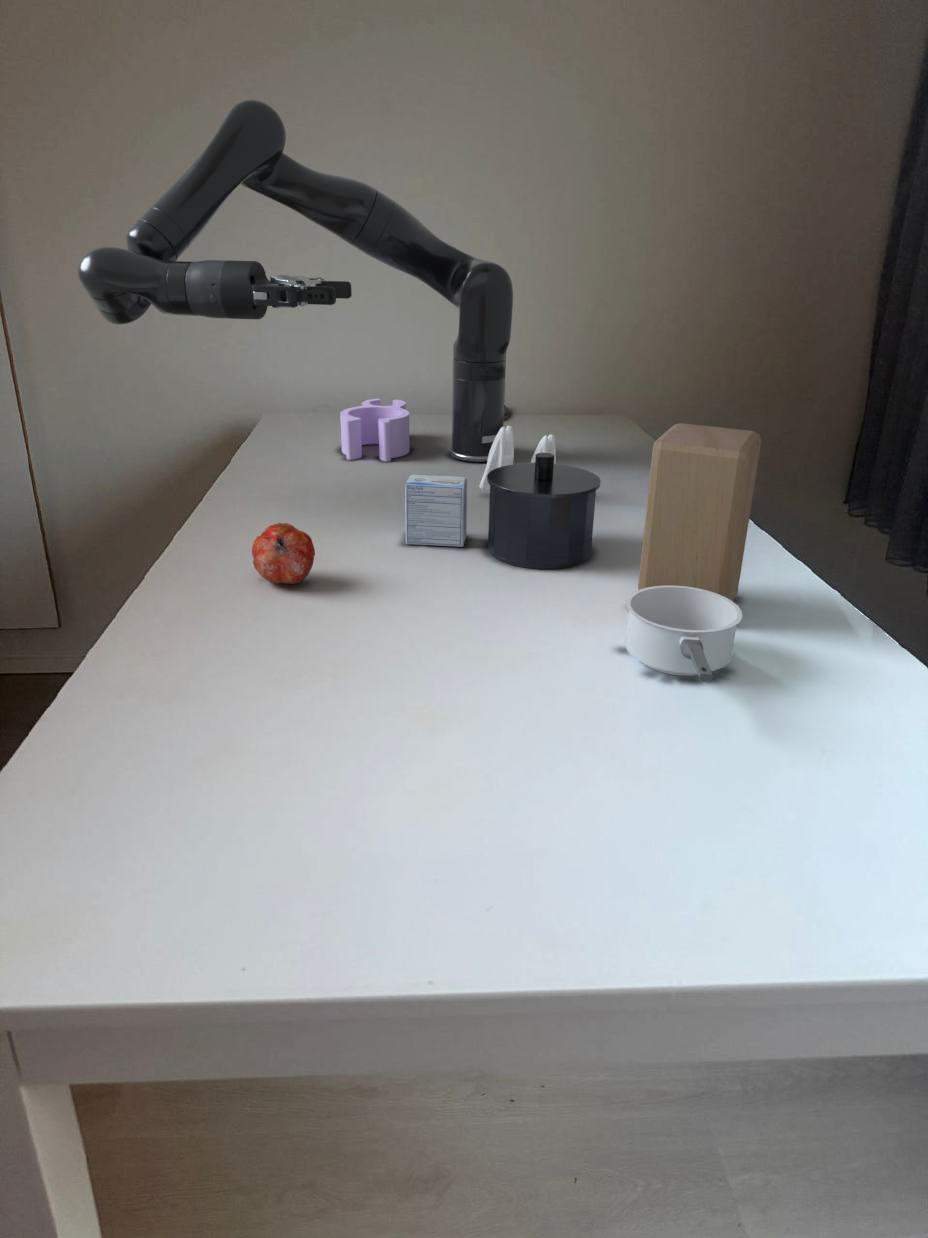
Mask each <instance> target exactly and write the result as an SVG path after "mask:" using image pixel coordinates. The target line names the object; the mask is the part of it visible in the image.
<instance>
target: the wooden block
mask: <svg viewBox="0 0 928 1238" xmlns="http://www.w3.org/2000/svg"><path fill="white" fill-rule="evenodd" d="M761 438H762V437H761V435H760V434H759V433H758V432H756V431H755V430H748V429H747V430H745V429H737V428H727V427H720V426H710V425H701V424H692V423H685V422H684V423H683V422H680V423H676V424H673V425H672V426H671V427H670V428H668V430H666V431H665V432H664V433H663V434H661V435H660V436H659V437H658V438H657V439H656V440H655V442H654V444H653V445H652V451H651V452H652V453H651V454H652V455H651V462H650V473H649V481H648V492H647V500H646V510H645V520H644V528H643V539H642V545H641V555H640V556H641V557H640V565H639V575H638V582H637V583H638V585H637V591H638V590H640V589H644V588H648V587H654V586H686V587H693V588H699V589H703V590H707V591H710V592H713V593H717V594H719V595H721V596H724V597H726V598H728V599H729V600H731V601H733V602H734V601H735V599H736V597H737V594H738V592H739V587H740V580H741V573H742V565H743V561H744V555H745V547H746V542H747V535H748V529H749V522H750V515H751V510H752V504H753V498H754V497H753V496H754V490H755V485H756V478H757V473H758V464H759V459H760V454H761V453H760V452H761V447H762V439H761Z"/></svg>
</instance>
